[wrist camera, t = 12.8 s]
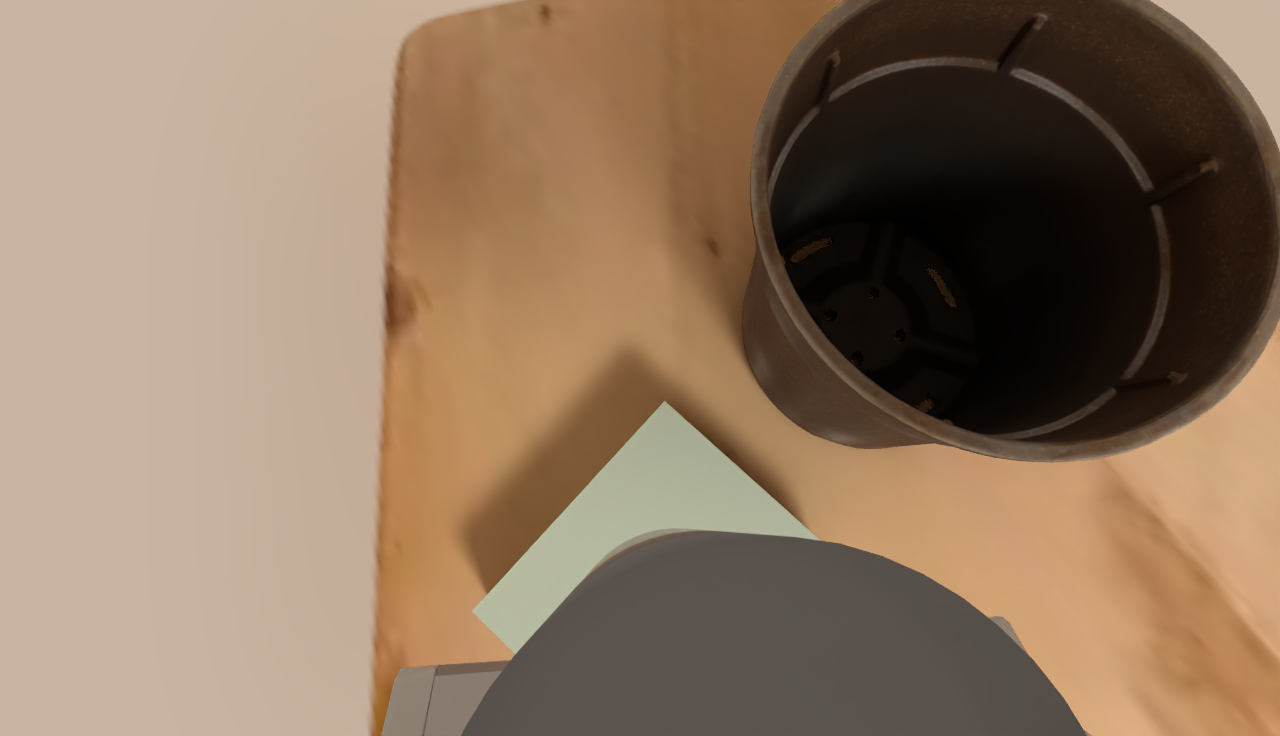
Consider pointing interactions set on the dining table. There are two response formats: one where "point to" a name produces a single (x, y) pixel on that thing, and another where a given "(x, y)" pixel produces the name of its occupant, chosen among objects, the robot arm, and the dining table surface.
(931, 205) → the plant pot
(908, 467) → the dining table surface
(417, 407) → the dining table surface
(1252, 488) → the dining table surface
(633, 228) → the dining table surface
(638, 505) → the block
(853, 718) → the slate jar
